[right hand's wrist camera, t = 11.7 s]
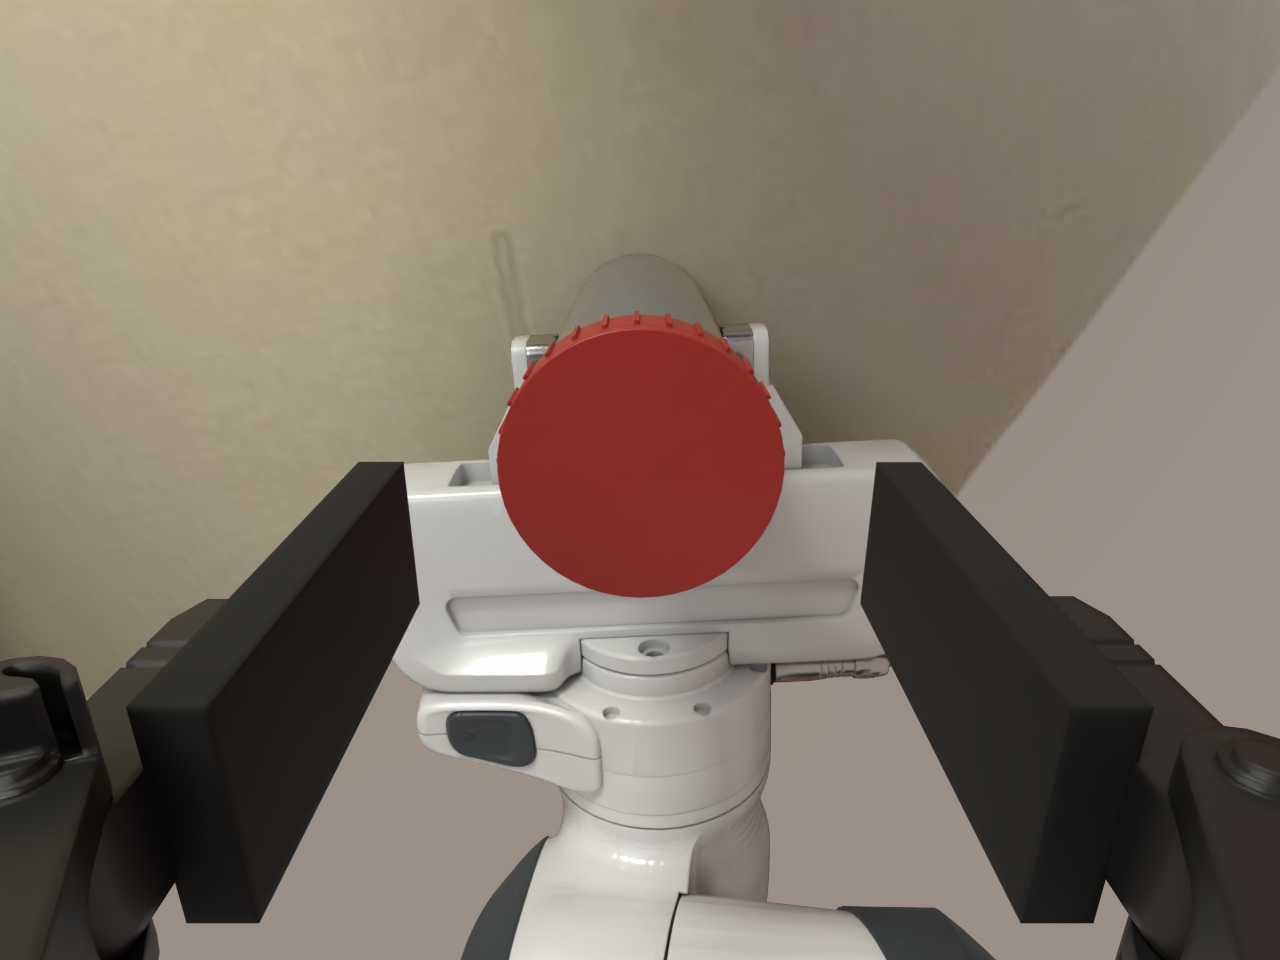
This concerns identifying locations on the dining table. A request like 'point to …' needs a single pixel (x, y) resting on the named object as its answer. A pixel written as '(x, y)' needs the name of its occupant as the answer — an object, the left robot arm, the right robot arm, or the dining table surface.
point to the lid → (640, 456)
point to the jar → (640, 294)
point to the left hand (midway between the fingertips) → (637, 331)
